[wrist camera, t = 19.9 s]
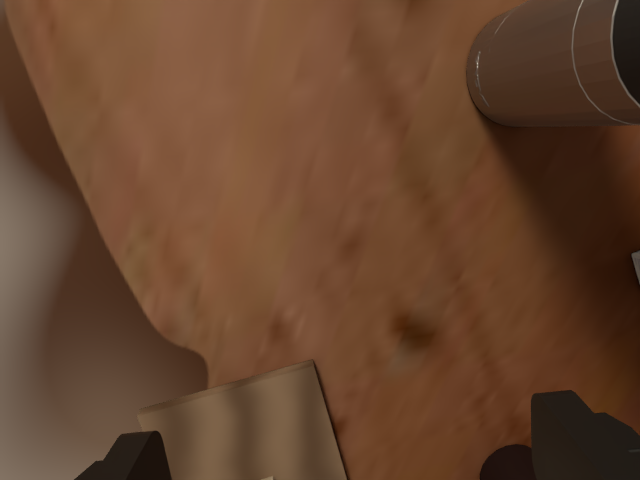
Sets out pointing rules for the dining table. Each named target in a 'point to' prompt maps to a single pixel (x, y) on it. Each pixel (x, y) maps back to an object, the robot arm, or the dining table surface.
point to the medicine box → (637, 263)
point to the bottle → (509, 464)
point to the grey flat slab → (250, 430)
